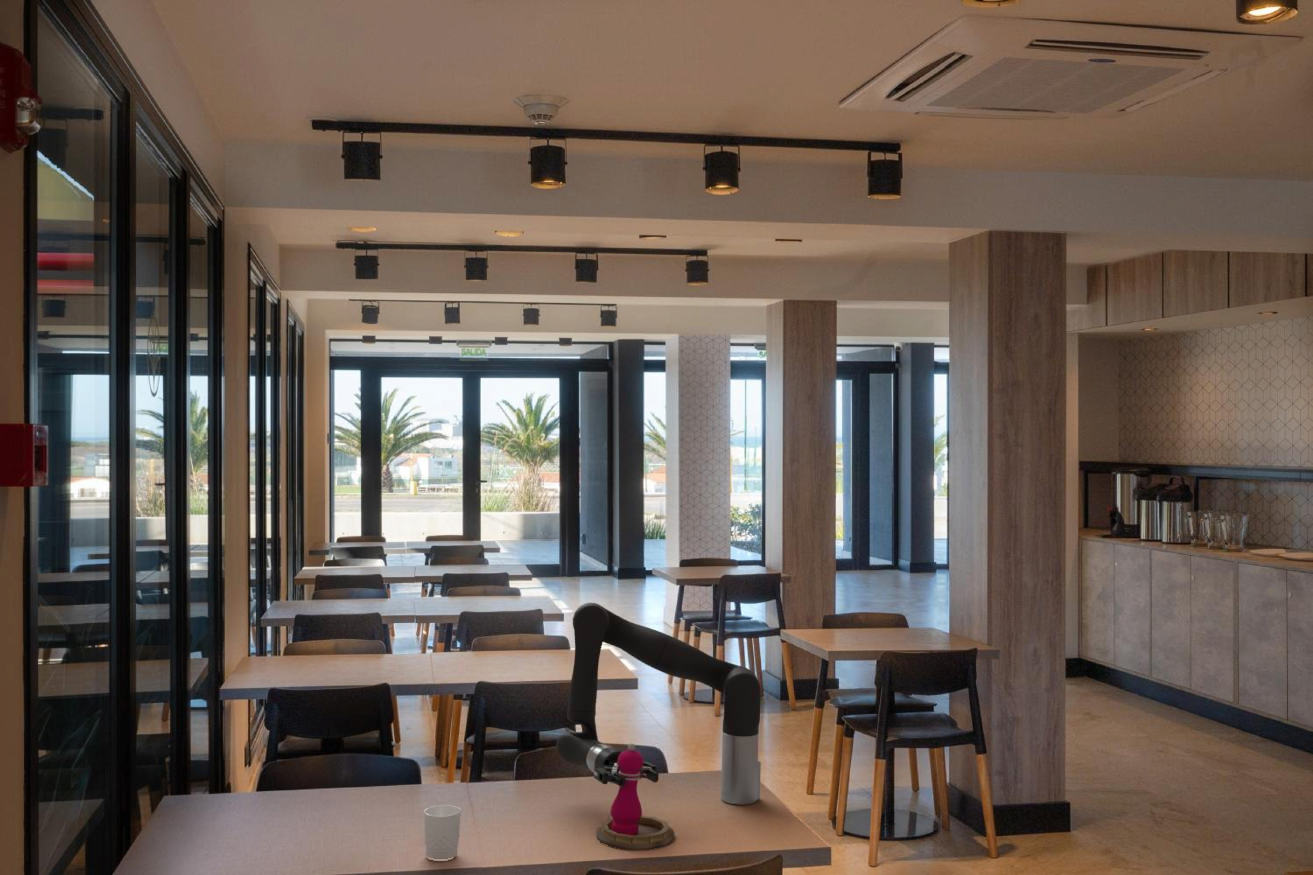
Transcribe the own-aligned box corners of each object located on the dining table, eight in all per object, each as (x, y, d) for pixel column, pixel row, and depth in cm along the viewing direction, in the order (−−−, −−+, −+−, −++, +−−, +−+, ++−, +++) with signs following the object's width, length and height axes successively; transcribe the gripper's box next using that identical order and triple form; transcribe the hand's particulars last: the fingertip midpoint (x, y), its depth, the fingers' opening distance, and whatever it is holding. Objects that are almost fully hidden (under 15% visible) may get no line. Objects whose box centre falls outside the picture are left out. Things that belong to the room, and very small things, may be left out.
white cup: (425, 850, 258) (426, 804, 258) (461, 850, 259) (462, 804, 259) (421, 863, 251) (422, 816, 251) (458, 862, 251) (459, 816, 251)
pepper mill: (636, 837, 265) (644, 747, 267) (605, 833, 267) (613, 744, 268) (643, 830, 272) (650, 742, 274) (612, 826, 274) (619, 739, 275)
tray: (640, 818, 283) (641, 808, 283) (690, 839, 269) (690, 828, 269) (580, 833, 272) (580, 822, 272) (629, 855, 258) (629, 844, 258)
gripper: (581, 750, 279) (613, 767, 265) (633, 743, 286) (667, 760, 272) (580, 781, 279) (612, 800, 265) (633, 774, 286) (667, 792, 272)
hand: (640, 780), depth 269 cm, fingers open, 8 cm apart
